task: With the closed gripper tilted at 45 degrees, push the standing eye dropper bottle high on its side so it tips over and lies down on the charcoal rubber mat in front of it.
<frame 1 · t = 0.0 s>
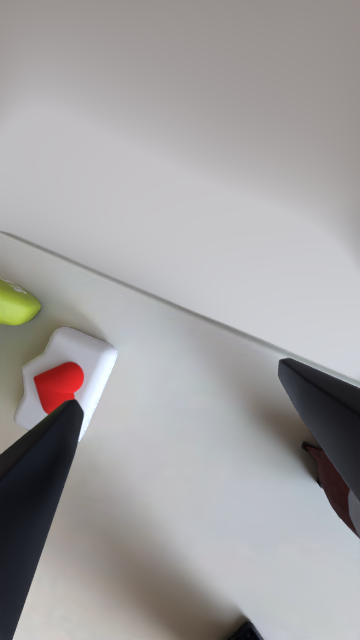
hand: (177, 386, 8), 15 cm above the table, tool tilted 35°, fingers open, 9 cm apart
icon: (70, 378, 23), on the table
dumbbell: (0, 343, 25), on the table
mate gourd: (331, 453, 21), on the table
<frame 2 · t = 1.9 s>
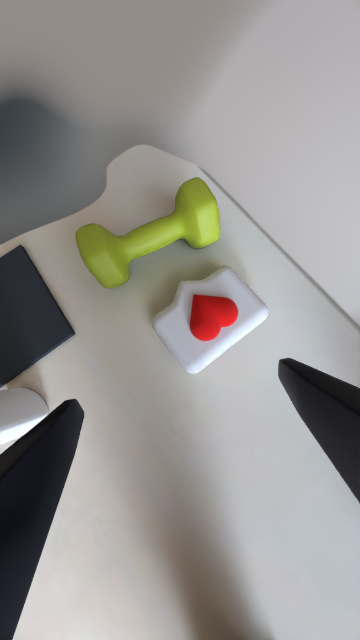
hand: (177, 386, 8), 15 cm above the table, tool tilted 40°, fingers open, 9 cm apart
icon: (204, 315, 24), on the table
dumbbell: (157, 255, 26), on the table
eye dropper bottle: (32, 406, 23), on the table
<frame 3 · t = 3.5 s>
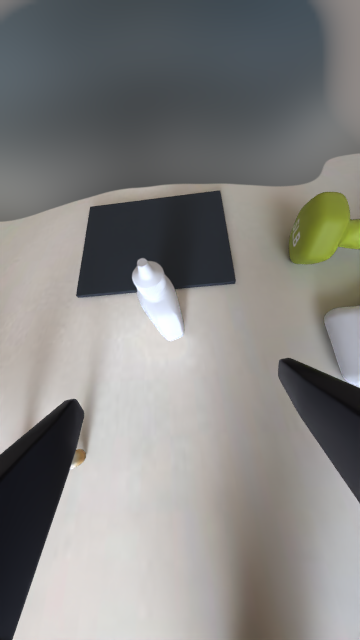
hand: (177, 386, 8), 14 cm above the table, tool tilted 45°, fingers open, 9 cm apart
dumbbell: (348, 256, 24), on the table
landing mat: (154, 242, 28), on the table
eye dropper bottle: (169, 320, 24), on the table
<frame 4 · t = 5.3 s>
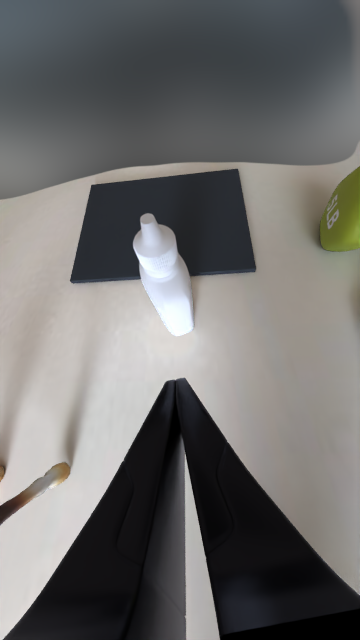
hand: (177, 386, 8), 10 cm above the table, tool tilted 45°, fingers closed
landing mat: (161, 223, 25), on the table
eye dropper bottle: (176, 312, 20), on the table
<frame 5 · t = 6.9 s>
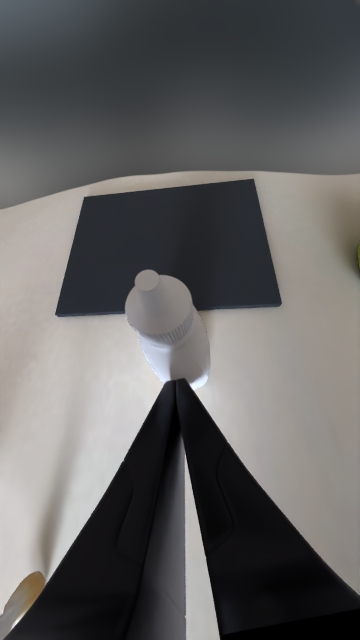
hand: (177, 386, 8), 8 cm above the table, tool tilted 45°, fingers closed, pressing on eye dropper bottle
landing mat: (164, 243, 21), on the table
eye dropper bottle: (183, 357, 16), on the table, touching gripper
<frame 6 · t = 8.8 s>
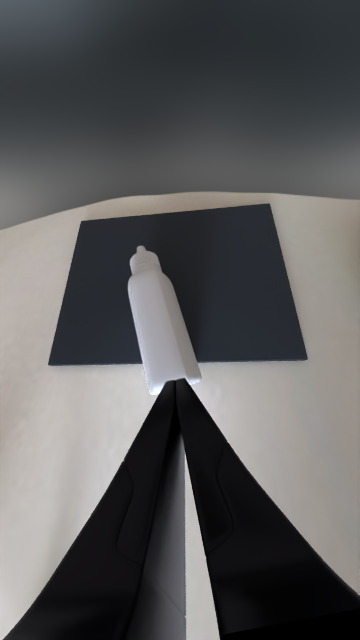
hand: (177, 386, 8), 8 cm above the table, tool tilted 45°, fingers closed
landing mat: (171, 278, 19), on the table
eye dropper bottle: (178, 391, 12), point 3 cm above the table, touching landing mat
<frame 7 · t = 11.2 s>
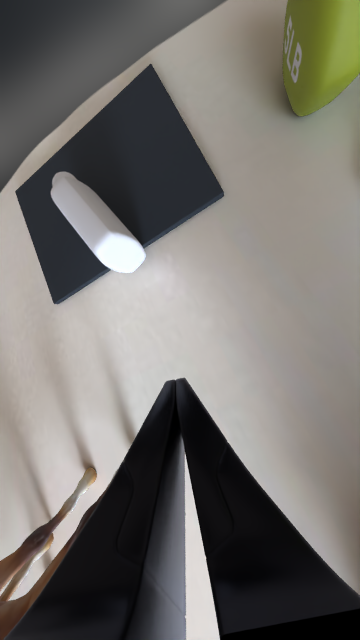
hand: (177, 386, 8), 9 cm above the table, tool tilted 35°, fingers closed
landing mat: (102, 195, 21), on the table
eye dropper bottle: (127, 258, 16), point 3 cm above the table, touching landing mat
horse figurine: (63, 498, 21), on the table
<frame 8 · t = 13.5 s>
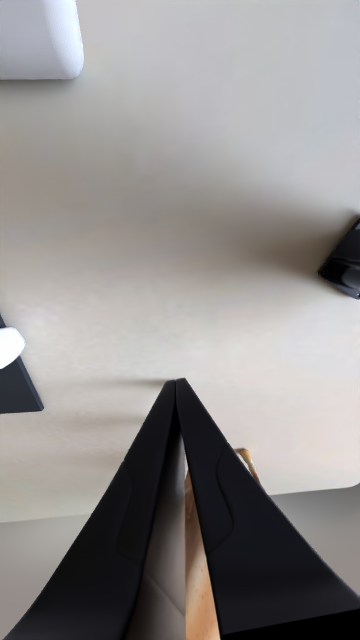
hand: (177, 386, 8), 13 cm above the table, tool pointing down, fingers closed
eye dropper bottle: (3, 347, 17), point 3 cm above the table, touching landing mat
horse figurine: (195, 435, 30), on the table
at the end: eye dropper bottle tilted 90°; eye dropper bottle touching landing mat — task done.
